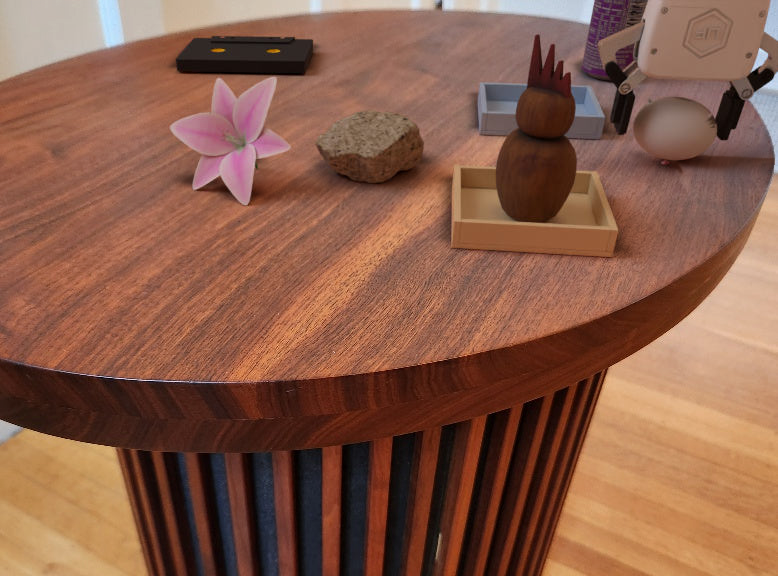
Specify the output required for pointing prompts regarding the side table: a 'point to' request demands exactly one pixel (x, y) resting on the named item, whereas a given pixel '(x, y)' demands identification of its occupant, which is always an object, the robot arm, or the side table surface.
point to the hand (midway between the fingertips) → (669, 133)
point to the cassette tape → (246, 54)
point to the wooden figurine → (539, 145)
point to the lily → (232, 137)
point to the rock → (371, 145)
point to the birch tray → (503, 233)
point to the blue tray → (502, 102)
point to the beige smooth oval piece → (674, 128)
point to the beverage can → (610, 32)
